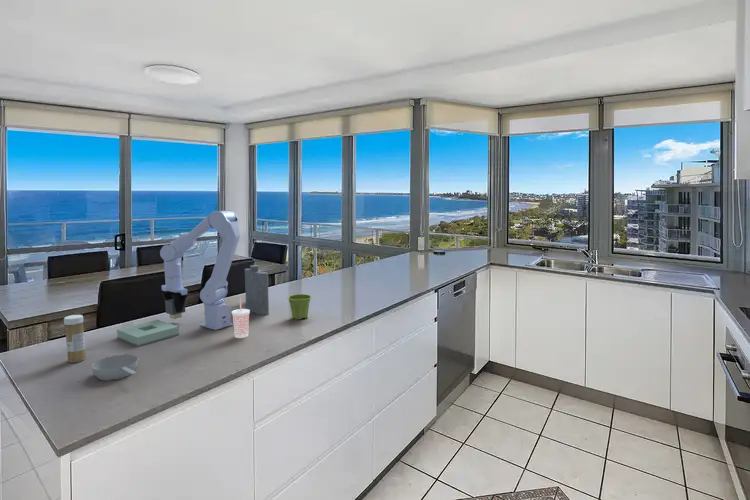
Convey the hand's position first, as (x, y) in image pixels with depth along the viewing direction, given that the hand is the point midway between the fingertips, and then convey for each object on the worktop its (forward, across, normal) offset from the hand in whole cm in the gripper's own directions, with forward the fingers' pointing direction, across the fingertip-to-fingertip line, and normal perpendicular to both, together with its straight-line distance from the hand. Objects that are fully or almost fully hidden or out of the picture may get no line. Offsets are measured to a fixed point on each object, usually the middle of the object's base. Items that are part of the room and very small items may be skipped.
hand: (175, 310), depth 157 cm
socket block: (+5, +7, -14) cm, 16 cm away
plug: (+3, 0, 0) cm, 3 cm away
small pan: (+5, +34, -35) cm, 49 cm away
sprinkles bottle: (+5, +11, -37) cm, 39 cm away
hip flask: (+5, +12, +29) cm, 32 cm away
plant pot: (+5, +34, +33) cm, 48 cm away
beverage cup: (+5, +33, +5) cm, 34 cm away
